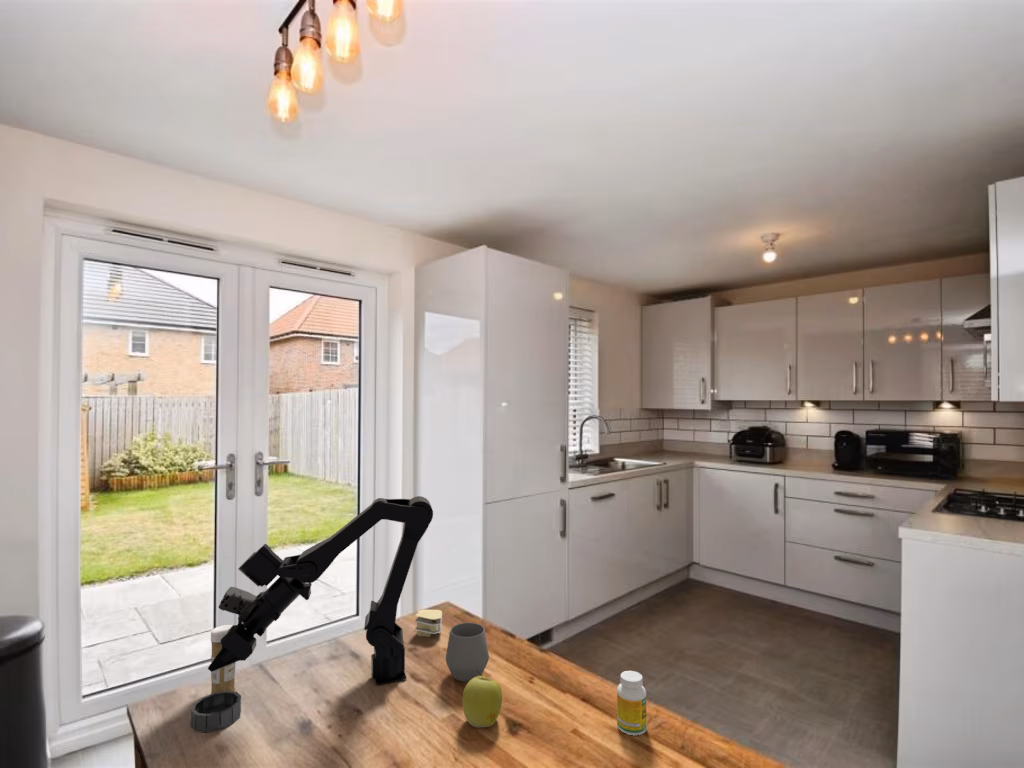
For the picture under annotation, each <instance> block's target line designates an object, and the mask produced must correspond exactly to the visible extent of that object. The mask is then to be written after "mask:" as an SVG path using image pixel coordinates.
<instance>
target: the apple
mask: <svg viewBox="0 0 1024 768" xmlns="http://www.w3.org/2000/svg"><path fill="white" fill-rule="evenodd" d="M477 672H478V671H477ZM478 673H479V672H478ZM479 674H480V673H479ZM480 675H481V674H480ZM466 683H467V684H465V687H464V690H463V692H462V698H461V700H462V709H463V714H464V717H465V719H466V720H467V722H468V723H469V724H470V725H471V726H472V727H474V728H490V727H492V726H493V725H494V724H495V723H496V721H497V719H498V717H499V715H500V712H501V709H502V704H503V691H502V687H501V685H500V683H498V681H496V680H493V679H491V678H489V677H487V676H484V675H481V676H477V677H474V678H472V679H471V680H470V681H469V682H466Z"/></svg>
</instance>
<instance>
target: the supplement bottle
mask: <svg viewBox="0 0 1024 768" xmlns="http://www.w3.org/2000/svg"><path fill="white" fill-rule="evenodd" d="M643 681H644V680H643V675H642V674H641V673H640V672H638V671H634V670H625V671H622V672H621V673H620V679H619V682H620V683H619V684H618V685H617V688H616V726H617V729H618V730H619V729H620V730H621V731H622V733H623V732H624V733H626V734H628V735H627V736H630V735H633V736H632V737H638V736H637V735H639V736H642V735H643V734H645V732H646V731H647V690H646V688H645V687H644V686H643V684H644V682H643ZM620 730H619V731H620ZM621 731H620V732H621ZM624 733H623V734H624ZM626 734H625V735H626ZM635 735H636V736H635Z"/></svg>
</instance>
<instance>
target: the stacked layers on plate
mask: <svg viewBox="0 0 1024 768" xmlns="http://www.w3.org/2000/svg"><path fill="white" fill-rule="evenodd" d="M415 617H417V618H415V620H414V622H415V623H416V627H415V631H416V636H417V635H418V637H427V636H430V637H431V635H434V634H435V635H436V634H437V633H440V632H442V631H443V624H442V623H443V611H442V610H440V609H419V611H418V612H417V613H416V614H415ZM440 634H441V633H440Z"/></svg>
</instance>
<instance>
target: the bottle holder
mask: <svg viewBox="0 0 1024 768" xmlns="http://www.w3.org/2000/svg"><path fill="white" fill-rule="evenodd" d="M241 713H242V695H241V694H240V693H238V691H235V692H234V691H222V692H216V693H214V694H213V693H212V694H211V693H210V694H208V695H205V696H203V697H201V698H198V700H197V701H195V702H194V703H193V704H192V706H191V710H190V728H191V729H193V731H195V732H198V733H205V734H206V733H211V732H215V731H220V730H223V729H225V728H228V727H229V726H232V725H233V724H235V722H236V721H238V720H239V719H240V718H241V715H242V714H241Z"/></svg>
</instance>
